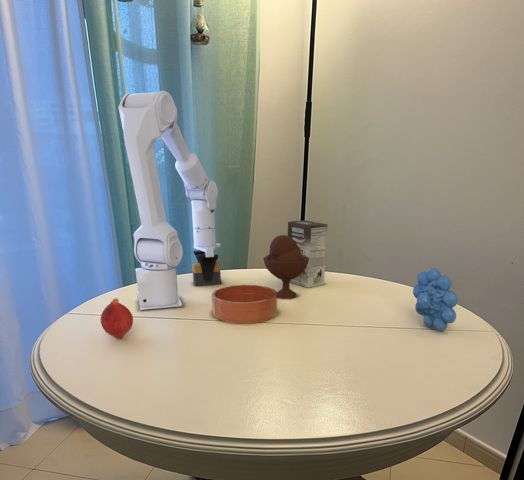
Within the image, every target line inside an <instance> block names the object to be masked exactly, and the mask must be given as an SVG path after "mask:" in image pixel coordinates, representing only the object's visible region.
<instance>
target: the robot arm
mask: <svg viewBox="0 0 524 480" xmlns="http://www.w3.org/2000/svg"><path fill="white" fill-rule="evenodd" d="M118 112H119V116H120V121H121V127H122V131H123V138H124V139H123V140H124V146H125V151H126V154H127V160H128V164H129V169H130V175H131V179H132V184H133V190H134V195H135V197H136V198H135V199H136V204H137V210H138V214H139V219H140V224H141V225H140V226H139V227H138V228H137V229H136V230H135V231H134V233H133V239H134V244H133V254H134V257H135V259H136V260H137V262H139V263H140V267H138V268H137V267H136V268H135V276H136V277H135V278H136V286H137V292H136V297H137V298H136V299H137V301H138V302H139V310H141V311H145V310H156V309H167V308H179V307H182V306H183V304H182V300H181V298H180V296H179V290H178V288H179V287H178V277H177V267H179V264H180V263H181V261H182V259H183V255H184V249H183V245H182V242H181V241H180V239H179V236H178V235H179V234H178V231H177V230H176V229H175V228H174V227H173V226H172V225H171V224H170V223H168V222H167V218H166V211H165V206H164V200H163V193H162V188H161V184H160V178H159V172H158V167H157V160H156V154H155V149H154V145H155V143H156V141H157V139H159V138H161V140H162V141H163V143H164V144H165V146H166V147H167V149H168V150H169V151H170V153H171V154H172V155H173V157H174V158H175V160H176V161H175V164H174V165H175V166H174V167H175V170H176V171H177V173H178V174H179V176H180V178H181V180H182V181H183V187H184V189H185V196H186V198H187V200H188V201H189V202H190V203H191V215H192V216H191V217H192V231H193V244H192V245H193V249H195V250H193V251H192V252H193V255H194V256H195V258H196V261H197V263H200V265H201V269H202V274H203V278H204V281H210V280H212V278H213V272H214V267H215V263H216V262H218V261H217V260H218V259H219V255H218V254H215V250H216V249H217V248H221V243H219V242H217V238H216V218H215V217H216V216H215V210H216V209H217V200H218V196H219V189H218V186H217V183H216V182H215V181H214V180H213V179H211V178H209V176H208V175H207V172H206V171H205V169H204V167H203V165H202V163H201V161H200V160H199V158H198V156H197V154H195V153H193V152H190V150H189V148H188V145H187V143H186V141H185V138H184V137H183V134H182V132H181V129H180V127H179V125H178V122H177V121H178V108H177V106H176V104H175V101H174V99H173V97H172V95H171V94H170V92H168V91H166V90H160V91H155V92H154V91H152V92H140V93H137V92H136V93H132V92H128V93H126V94H124V95H123V97H122V99H121V101H120V103H119V105H118Z"/></svg>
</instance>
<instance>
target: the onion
mask: <svg viewBox="0 0 524 480" xmlns="http://www.w3.org/2000/svg"><path fill="white" fill-rule="evenodd" d="M119 301H120V300H119V299H118V298H117V297H114V298H112V300H111V301H110V303H109V304H108V305H106V307H105V308H104V309H103V311H102V312H101V314H100V325H101V328H102V329H103V330H104V331H105V333H106V334H108V335H109V336H111V337H113V338H116V339H123V338H124V336H125V335H126V334H127V333H128V332H130V330H131V329H132V328H133V324H134V317H133V313H132V312H131V310H130V309H129V308H128V307H127V306H126V305H124V304H122V303H120V302H119Z"/></svg>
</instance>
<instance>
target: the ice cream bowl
mask: <svg viewBox="0 0 524 480" xmlns="http://www.w3.org/2000/svg"><path fill="white" fill-rule="evenodd" d="M308 262H309V257H307V256H305V255H302V254H301V250H300V248H299V246H298V245H297V244H296V242H295V241H294V240H293V239H292V238H291V237H290V236H288V234H280V235H277V236H275V237H274V238H273V239H272V240H271V242H270V245H269V252H268V255H266V256H264V257H263V263H264V266H265V268H266V270H267V271H268V272H269V273H270V274H271V275H273V277H275V278H277V279H278V280H281V282H282V285H281V286H282V287H281V289H279V290H278V291H276V292H277V299H282V300H283V299H284V300H286V299H288V300H289V299H295V298H296V297H297V296H298V295H297V292H295V291H293V290H292V289H291V288H290V283H291V282H290V280H291V279H294V278H296V277H298V276H299V275H300V274H301V273H302V272H303V271H304V270H305V269H306V267H307V265H308Z"/></svg>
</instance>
